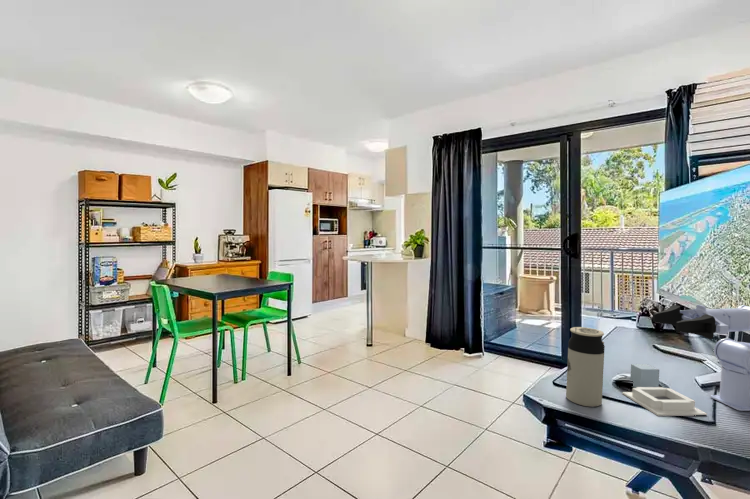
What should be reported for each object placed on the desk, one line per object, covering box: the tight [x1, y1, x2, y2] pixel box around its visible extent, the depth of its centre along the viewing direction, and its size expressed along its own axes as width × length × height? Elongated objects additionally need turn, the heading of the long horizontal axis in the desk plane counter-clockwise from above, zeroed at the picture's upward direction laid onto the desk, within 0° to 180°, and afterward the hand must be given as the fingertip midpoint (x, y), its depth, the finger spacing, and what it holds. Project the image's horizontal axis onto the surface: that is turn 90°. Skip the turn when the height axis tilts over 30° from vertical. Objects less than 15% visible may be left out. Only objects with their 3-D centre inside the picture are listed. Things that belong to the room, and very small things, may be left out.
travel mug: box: [565, 326, 606, 408], centre depth 96 cm, size 8×8×18 cm
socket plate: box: [621, 386, 708, 417], centre depth 95 cm, size 12×12×2 cm
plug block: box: [629, 363, 660, 388], centre depth 105 cm, size 5×4×6 cm
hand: (664, 322), depth 95 cm, fingers open, 7 cm apart
